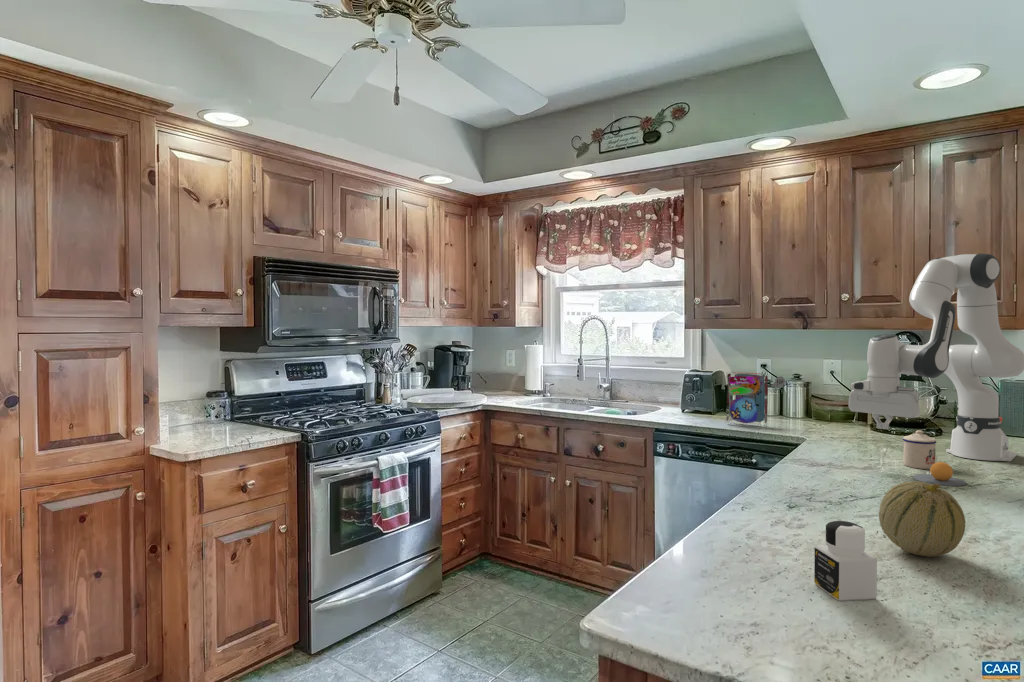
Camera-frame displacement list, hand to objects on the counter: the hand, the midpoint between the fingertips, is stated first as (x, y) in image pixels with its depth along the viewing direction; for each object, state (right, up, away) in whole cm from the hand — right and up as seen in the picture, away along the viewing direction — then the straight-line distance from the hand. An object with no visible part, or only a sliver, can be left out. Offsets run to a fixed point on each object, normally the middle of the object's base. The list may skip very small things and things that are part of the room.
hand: (882, 428), depth 192 cm
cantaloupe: (-35, -16, -69) cm, 79 cm away
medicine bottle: (-60, -16, -86) cm, 106 cm away
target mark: (+9, -14, -13) cm, 21 cm away
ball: (+9, -11, -14) cm, 20 cm away
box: (-8, -11, +80) cm, 82 cm away
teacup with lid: (+16, -13, +5) cm, 21 cm away
